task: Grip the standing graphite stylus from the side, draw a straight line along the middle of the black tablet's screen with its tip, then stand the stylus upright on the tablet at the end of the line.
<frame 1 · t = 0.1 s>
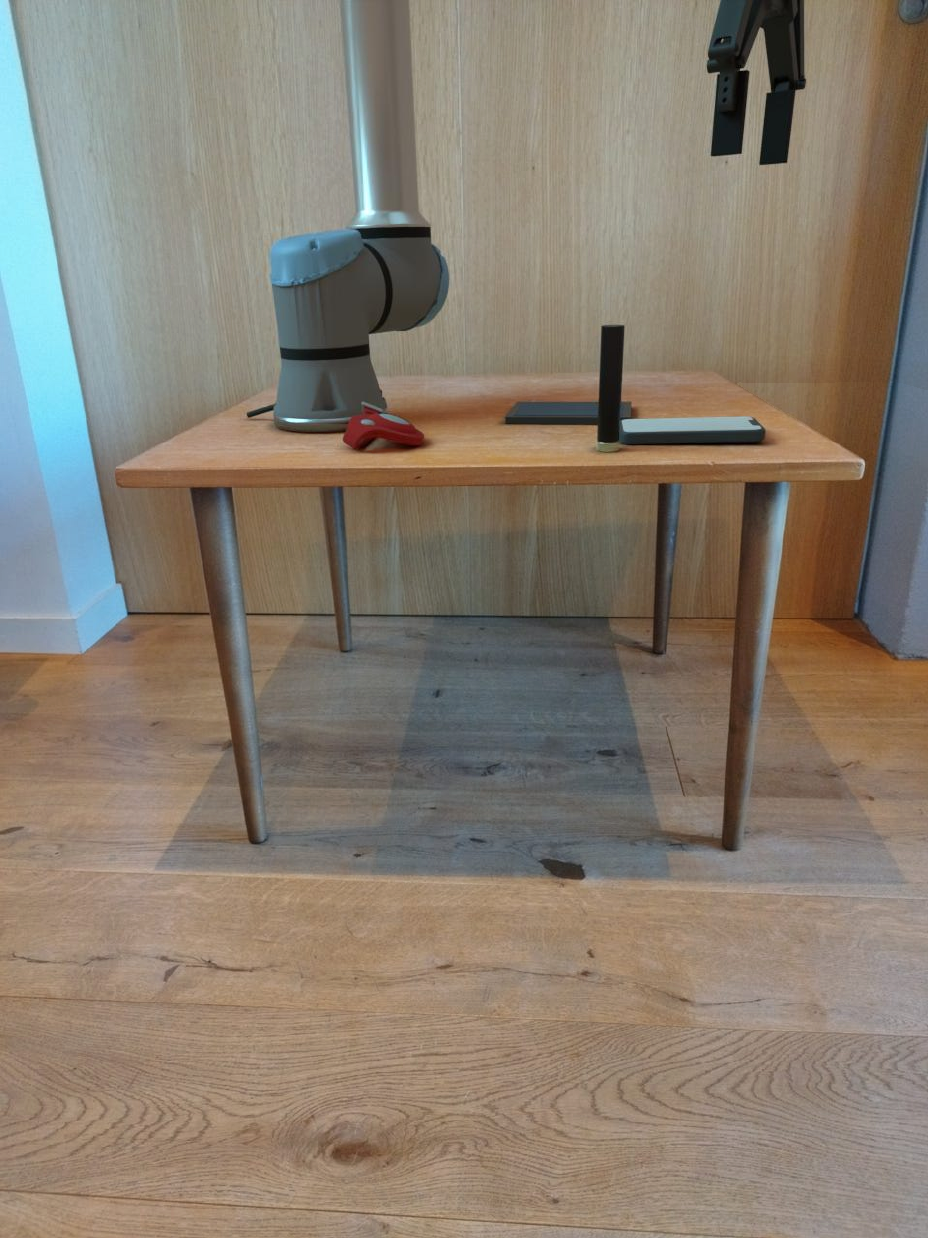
hand: (750, 160, 81), 28 cm above the table, tool pointing down, fingers open, 13 cm apart
phone case: (687, 438, 95), on the table
red curved piece: (385, 443, 98), on the table
tablet: (570, 415, 110), on the table
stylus: (607, 449, 91), on the table
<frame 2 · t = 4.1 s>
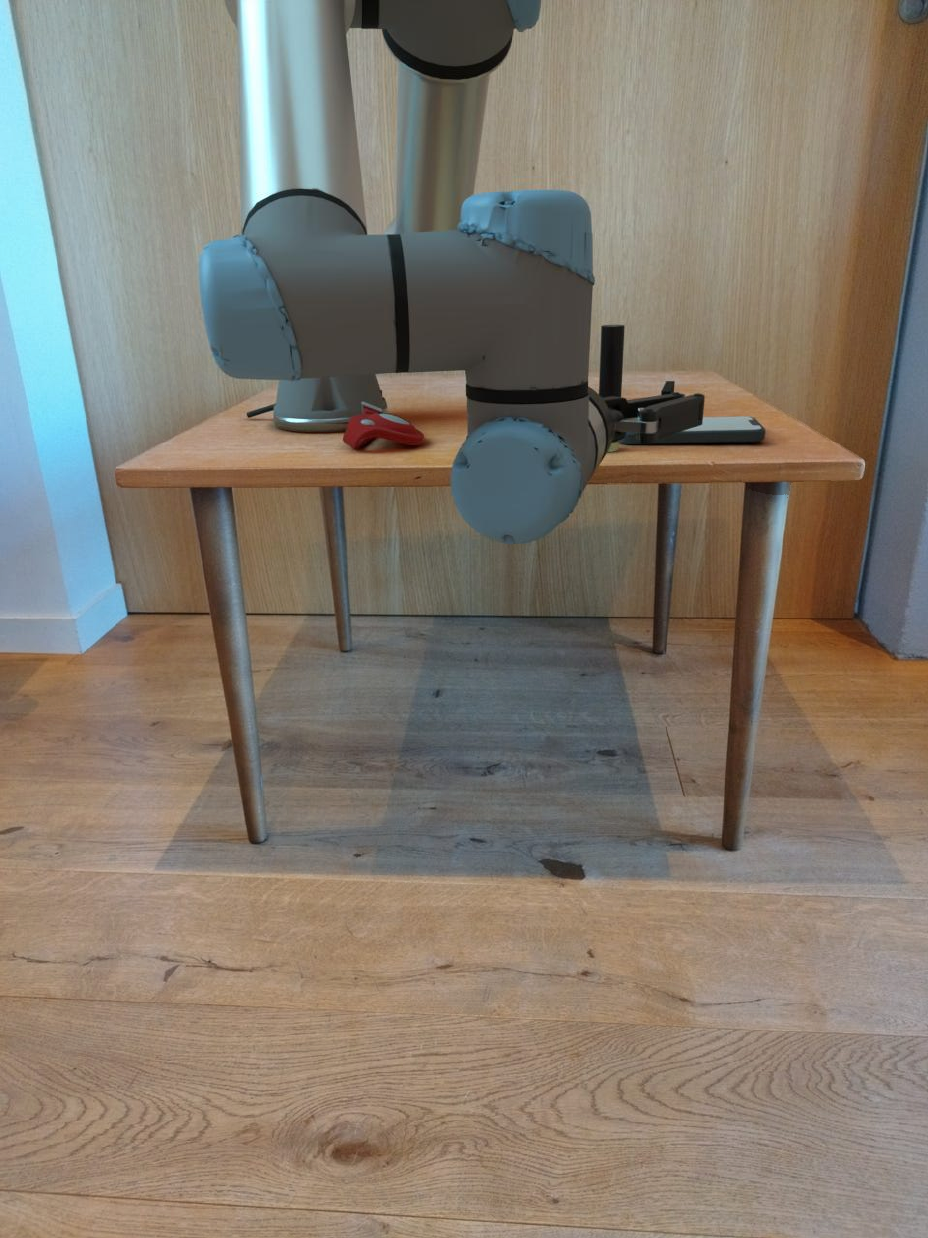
hand: (597, 394, 79), 7 cm above the table, tool horizontal, fingers open, 13 cm apart
nothing on the table moved.
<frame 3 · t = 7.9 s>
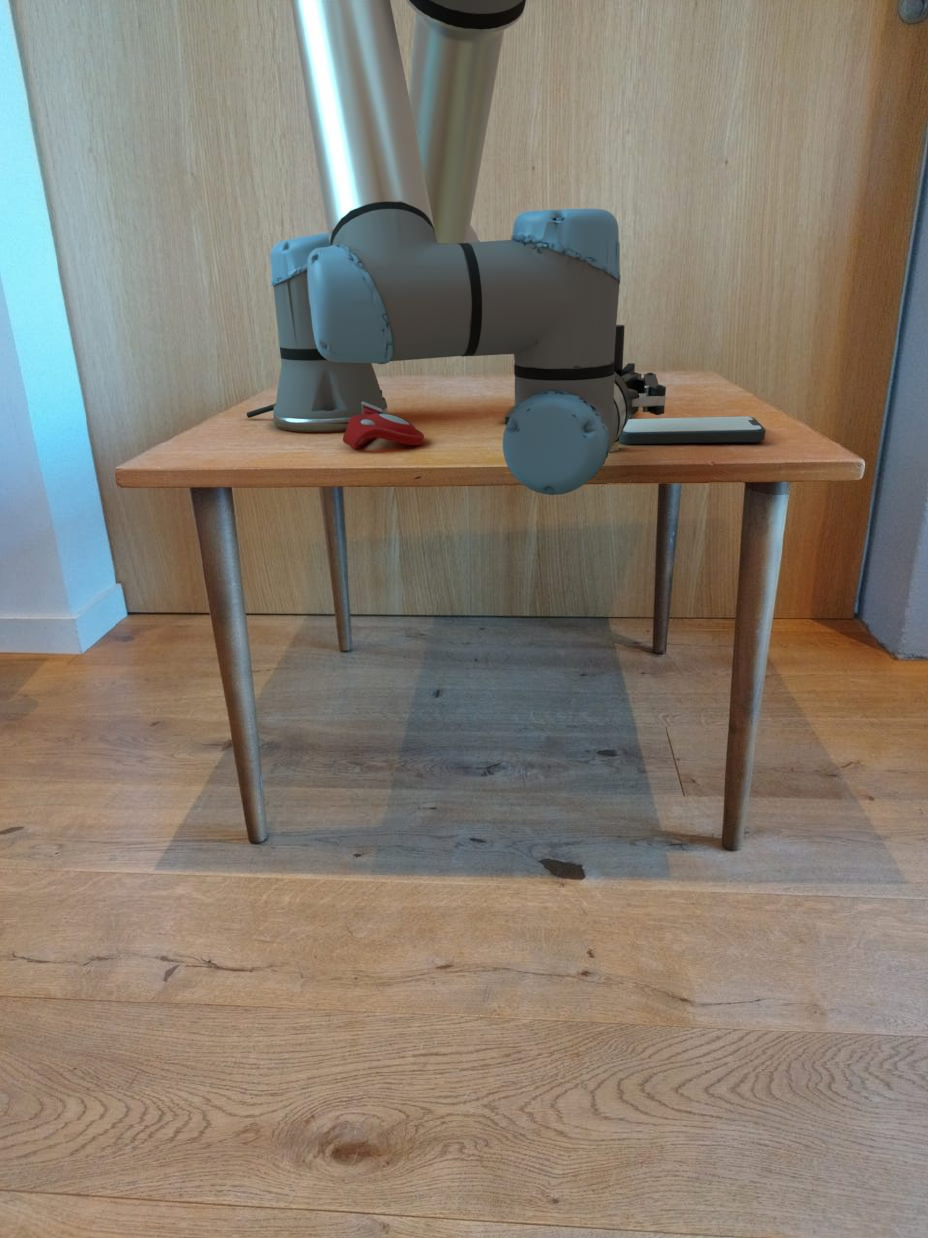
hand: (617, 375, 92), 7 cm above the table, tool horizontal, fingers closed on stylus, 2 cm apart
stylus: (607, 449, 91), on the table, touching gripper
everything else where it was.
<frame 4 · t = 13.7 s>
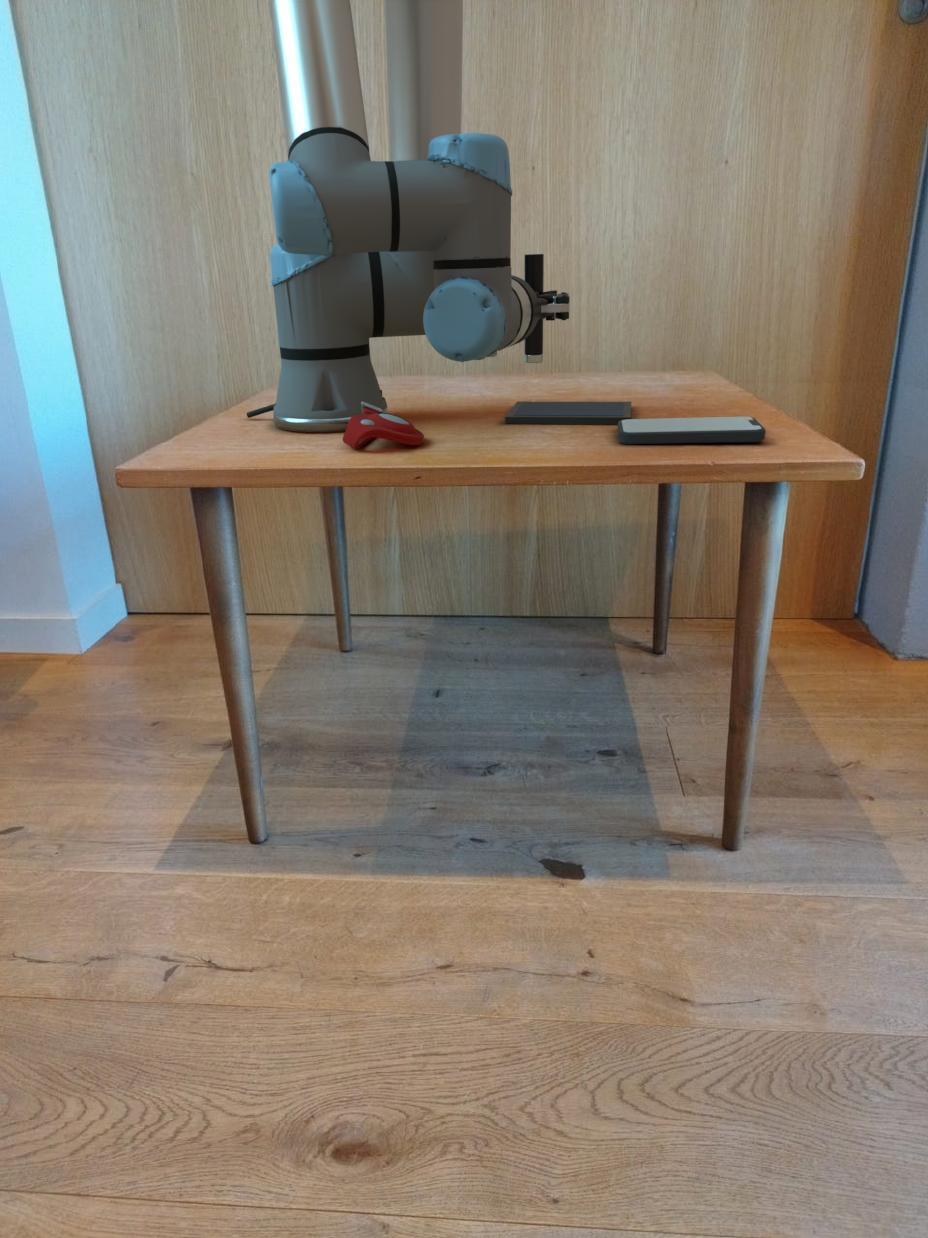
hand: (542, 301, 110), 14 cm above the table, tool horizontal, fingers closed on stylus, 2 cm apart
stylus: (533, 361, 108), point 7 cm above the table, touching gripper
everything else where it was.
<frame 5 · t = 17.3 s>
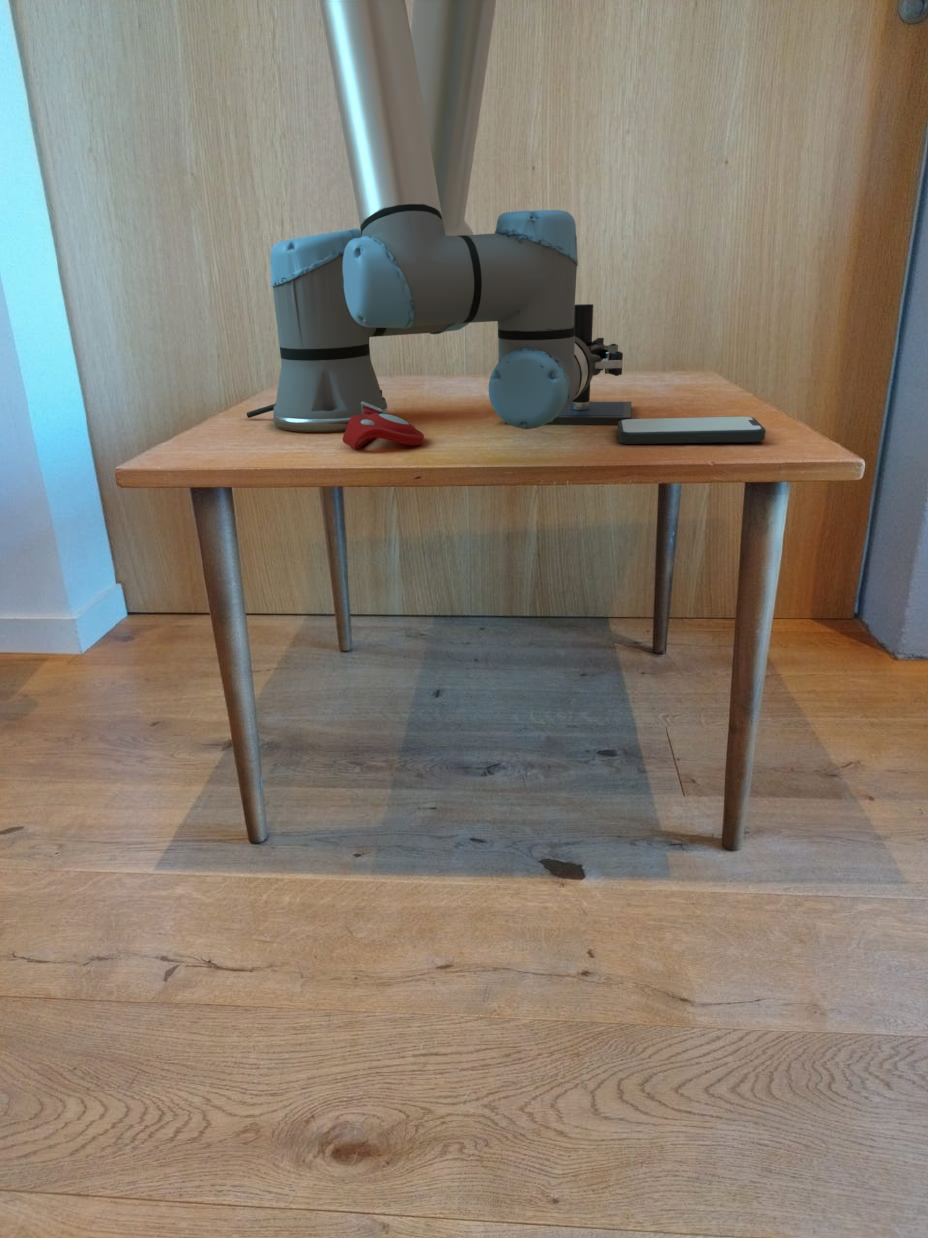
hand: (589, 348, 111), 8 cm above the table, tool horizontal, fingers closed on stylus, 2 cm apart
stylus: (580, 408, 109), point 1 cm above the table, touching gripper
everything else where it was.
when the fingers open (8 cm above the table, at t = 19.9 s): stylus stays where it is, resting on tablet.
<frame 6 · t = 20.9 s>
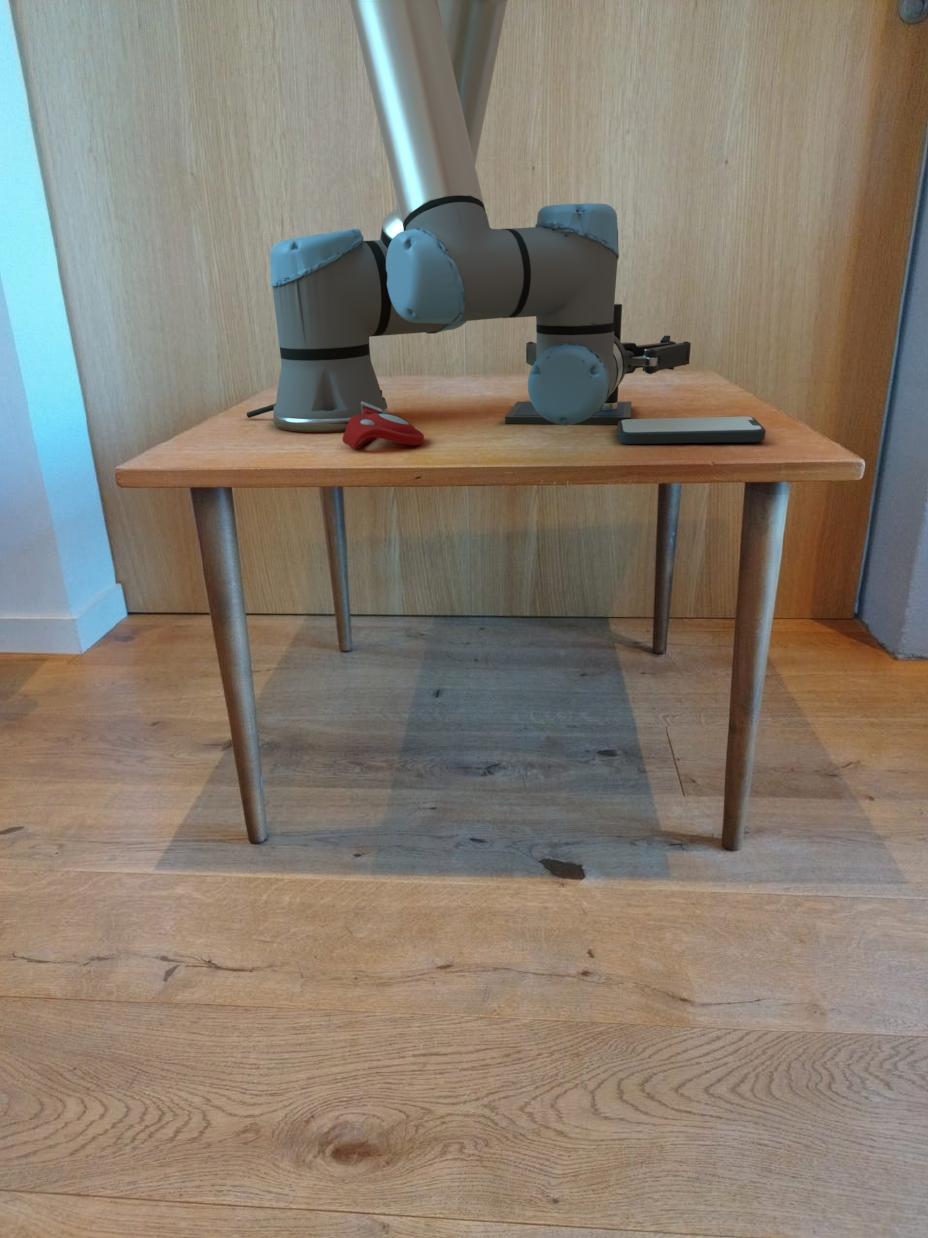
hand: (614, 346, 108), 9 cm above the table, tool horizontal, fingers open, 13 cm apart
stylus: (608, 409, 108), point 1 cm above the table, touching tablet
everything else where it was.
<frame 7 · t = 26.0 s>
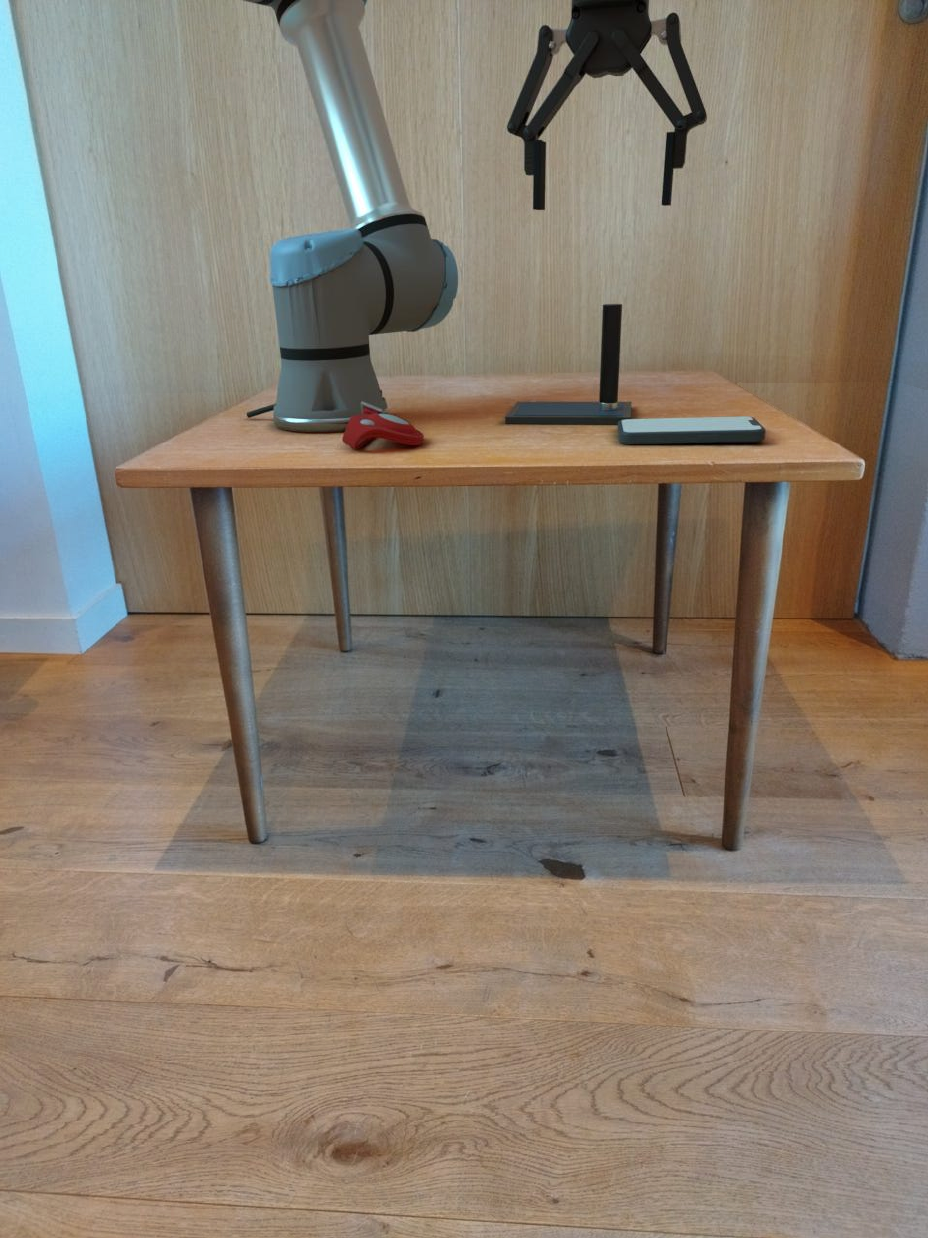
hand: (601, 207, 88), 24 cm above the table, tool pointing down, fingers open, 13 cm apart
nothing on the table moved.
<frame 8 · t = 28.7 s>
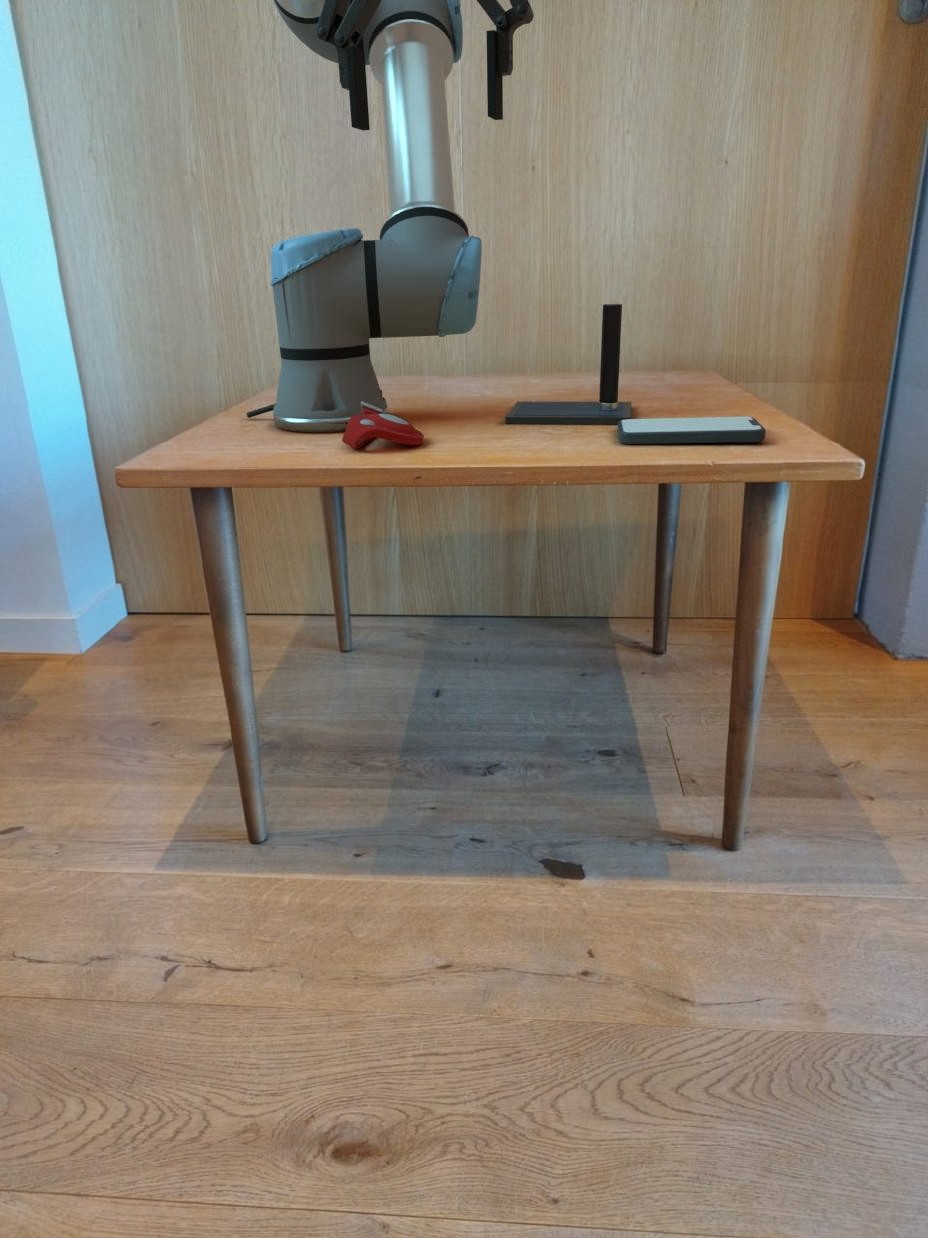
hand: (426, 123, 78), 32 cm above the table, tool pointing down, fingers open, 13 cm apart
nothing on the table moved.
at the end: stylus 0.7 cm from the target spot on the tablet, point 0.9 cm above the tablet's base; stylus tilted 0°; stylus moved 19.9 cm from its start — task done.
